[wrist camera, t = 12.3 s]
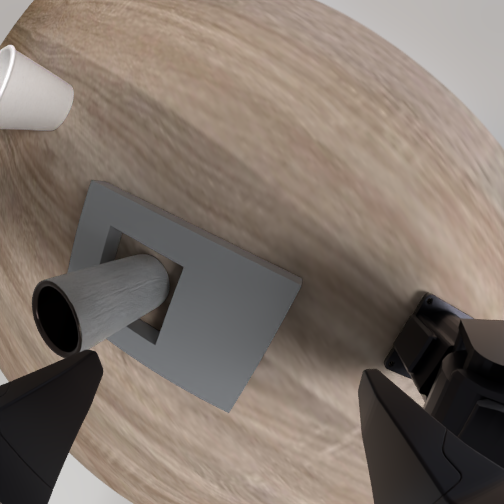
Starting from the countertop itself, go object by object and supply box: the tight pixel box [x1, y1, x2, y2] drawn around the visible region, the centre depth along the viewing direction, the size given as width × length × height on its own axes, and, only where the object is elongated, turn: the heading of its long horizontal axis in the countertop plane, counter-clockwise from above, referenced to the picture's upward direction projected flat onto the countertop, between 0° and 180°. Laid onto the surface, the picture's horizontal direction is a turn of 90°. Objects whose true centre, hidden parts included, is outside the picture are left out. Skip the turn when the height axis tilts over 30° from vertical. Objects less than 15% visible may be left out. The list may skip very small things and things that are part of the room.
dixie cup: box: [0, 45, 74, 131], centre depth 18 cm, size 8×8×10 cm
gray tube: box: [32, 254, 169, 358], centre depth 17 cm, size 4×4×10 cm
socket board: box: [68, 180, 302, 413], centre depth 21 cm, size 18×12×2 cm, turn 66°
